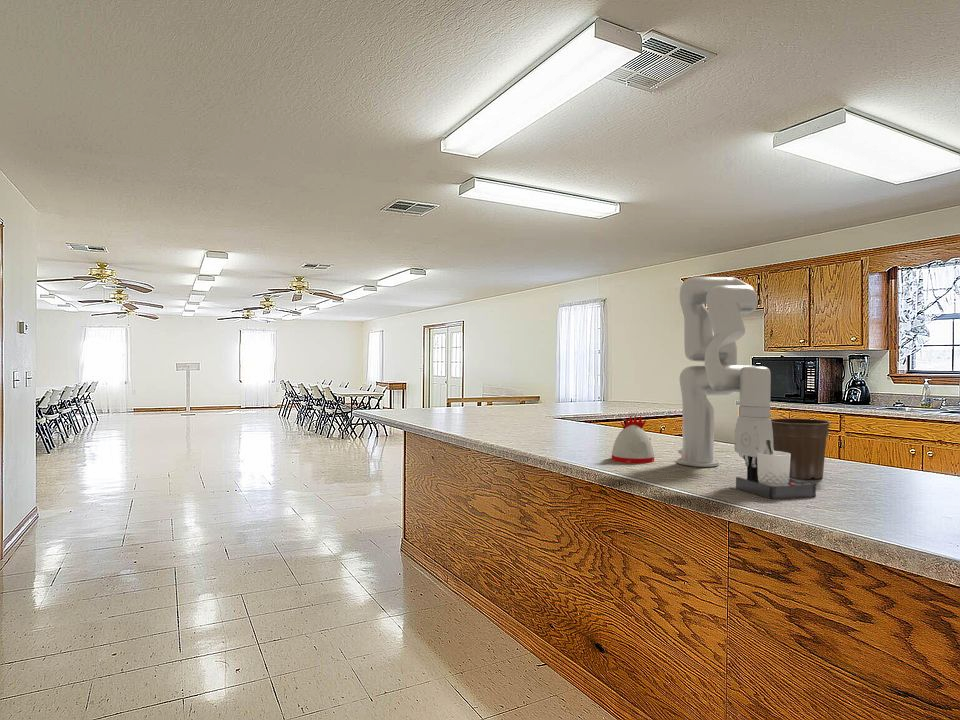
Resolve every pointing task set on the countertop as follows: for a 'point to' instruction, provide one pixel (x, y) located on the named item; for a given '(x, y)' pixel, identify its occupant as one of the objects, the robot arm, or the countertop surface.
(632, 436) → the white and red dome
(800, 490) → the bracket
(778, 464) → the white cup
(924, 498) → the countertop surface
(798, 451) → the plant pot
